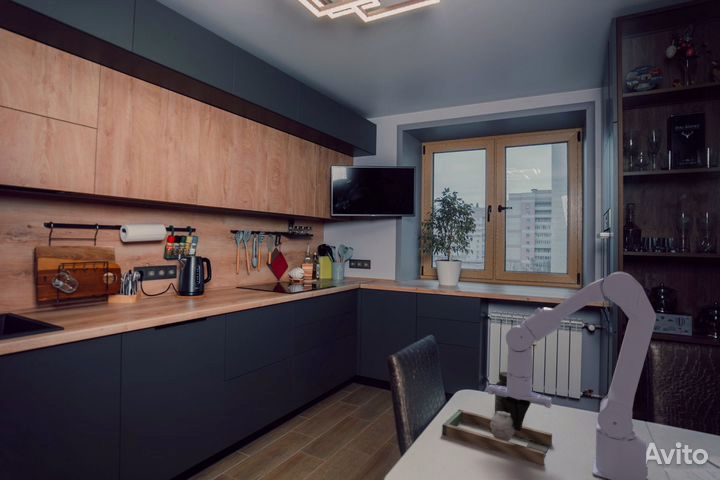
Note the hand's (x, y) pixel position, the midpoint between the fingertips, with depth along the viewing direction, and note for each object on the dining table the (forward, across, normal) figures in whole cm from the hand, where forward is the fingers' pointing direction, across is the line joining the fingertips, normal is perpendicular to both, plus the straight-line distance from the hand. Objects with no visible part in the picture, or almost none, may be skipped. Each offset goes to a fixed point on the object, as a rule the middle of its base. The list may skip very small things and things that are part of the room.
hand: (517, 429), depth 99 cm
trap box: (+4, +5, 0) cm, 6 cm away
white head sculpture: (+4, +4, 0) cm, 6 cm away
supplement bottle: (+4, +7, -17) cm, 19 cm away
